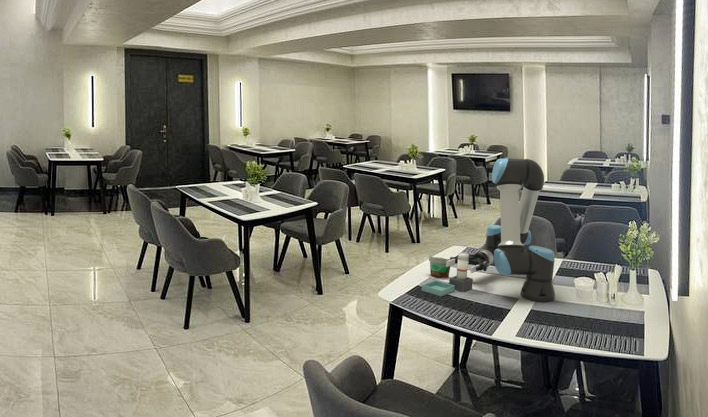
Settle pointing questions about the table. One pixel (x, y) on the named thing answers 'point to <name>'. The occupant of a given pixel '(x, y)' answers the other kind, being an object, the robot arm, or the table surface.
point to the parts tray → (438, 288)
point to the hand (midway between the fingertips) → (458, 267)
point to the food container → (439, 267)
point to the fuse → (462, 266)
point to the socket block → (461, 284)
